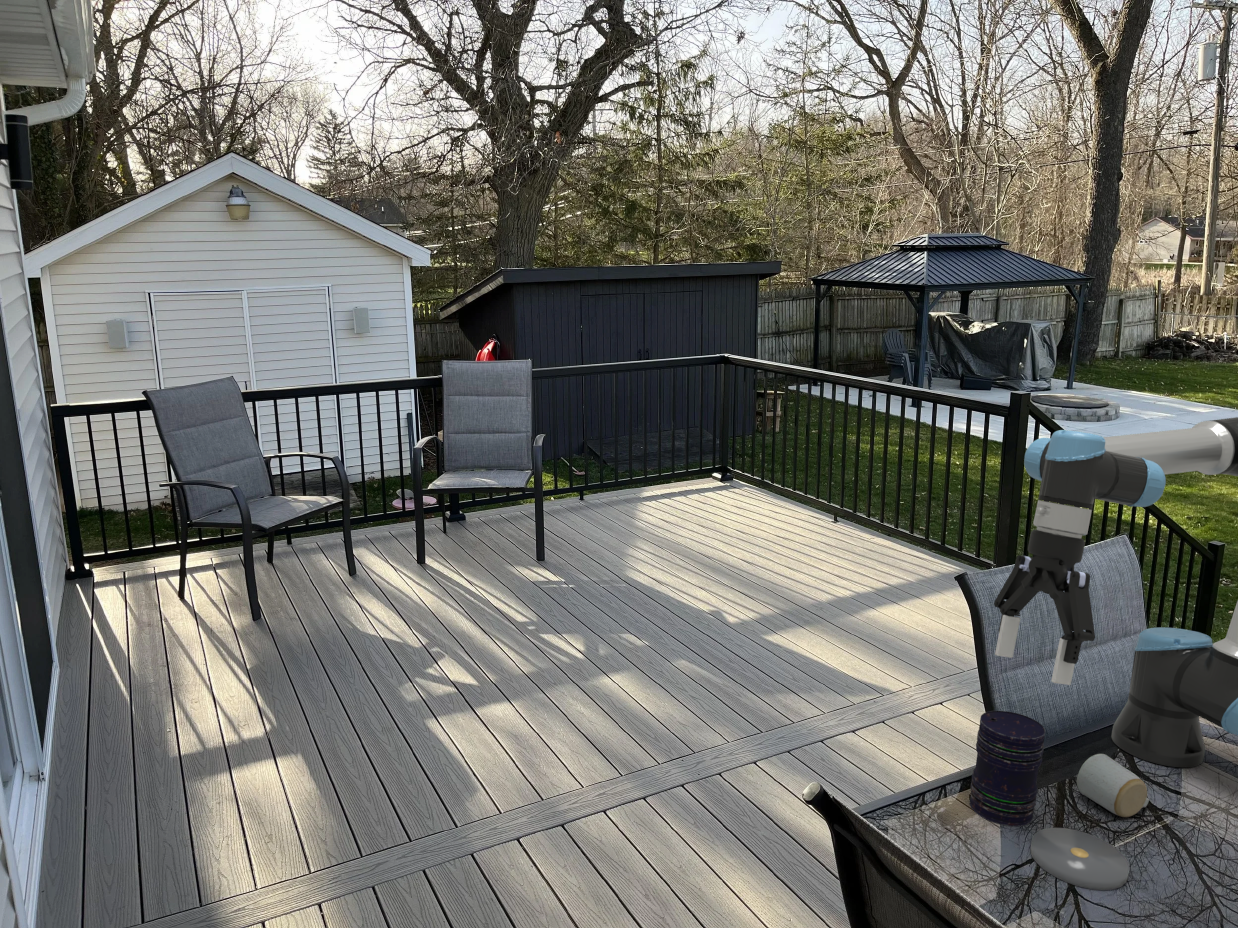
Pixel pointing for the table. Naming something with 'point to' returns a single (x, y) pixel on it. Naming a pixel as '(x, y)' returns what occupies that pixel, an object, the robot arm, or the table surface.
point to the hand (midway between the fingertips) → (1030, 669)
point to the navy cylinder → (1007, 768)
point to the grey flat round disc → (1079, 858)
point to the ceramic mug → (1112, 786)
